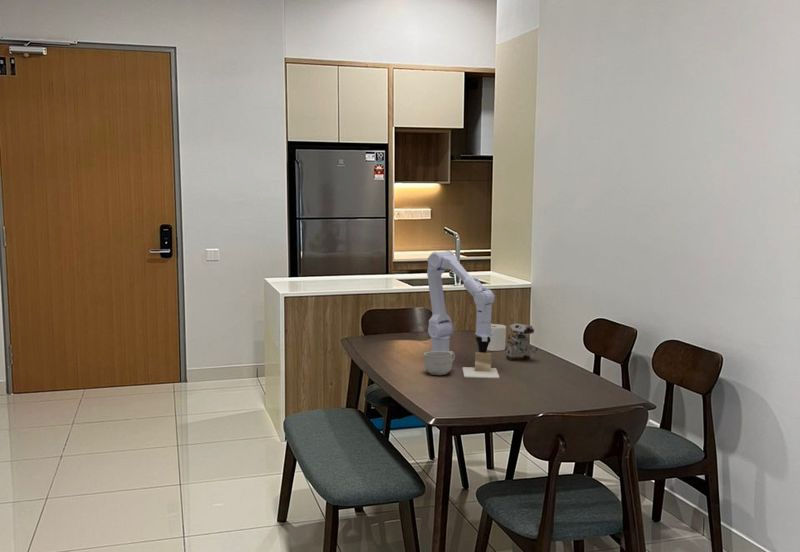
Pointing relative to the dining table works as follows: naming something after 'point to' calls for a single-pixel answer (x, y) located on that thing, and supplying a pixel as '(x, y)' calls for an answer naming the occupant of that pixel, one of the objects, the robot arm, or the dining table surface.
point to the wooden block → (482, 361)
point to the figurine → (519, 341)
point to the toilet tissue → (497, 338)
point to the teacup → (438, 362)
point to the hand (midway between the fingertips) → (482, 355)
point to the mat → (479, 373)
